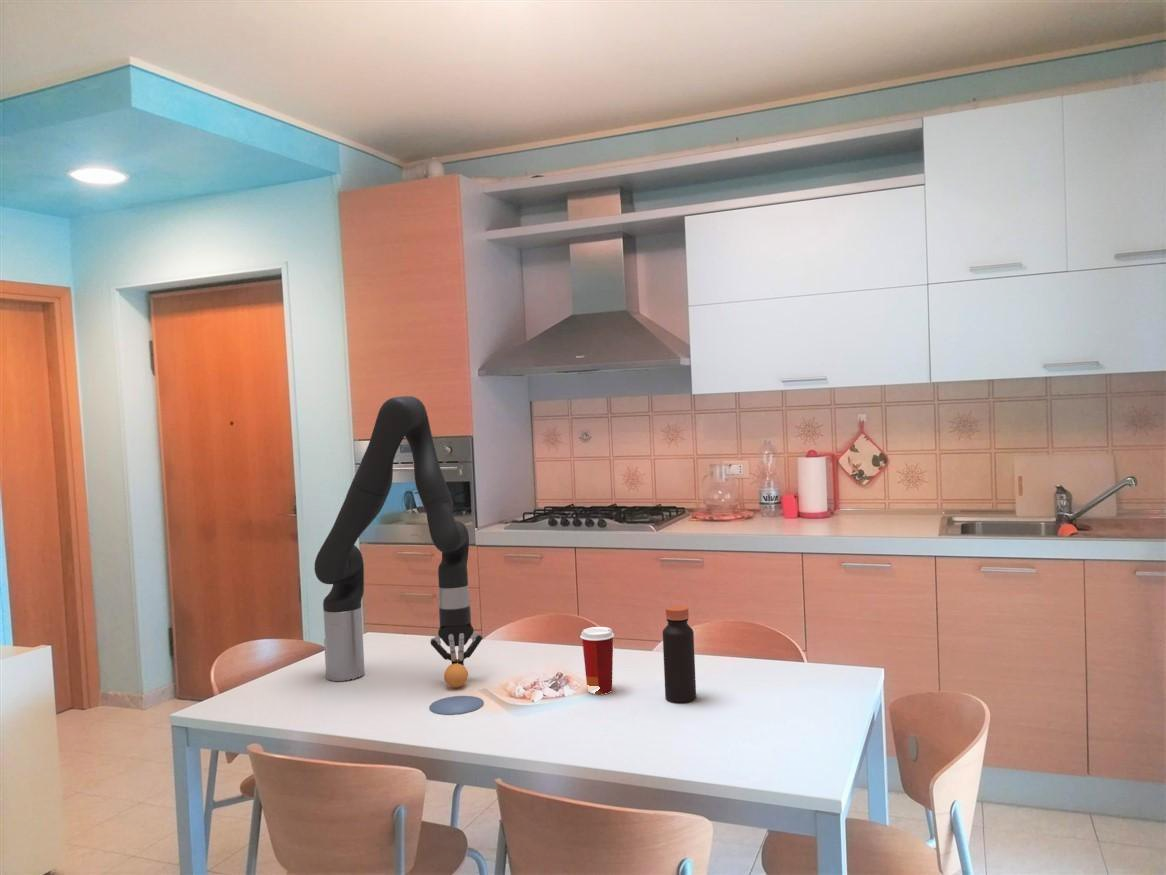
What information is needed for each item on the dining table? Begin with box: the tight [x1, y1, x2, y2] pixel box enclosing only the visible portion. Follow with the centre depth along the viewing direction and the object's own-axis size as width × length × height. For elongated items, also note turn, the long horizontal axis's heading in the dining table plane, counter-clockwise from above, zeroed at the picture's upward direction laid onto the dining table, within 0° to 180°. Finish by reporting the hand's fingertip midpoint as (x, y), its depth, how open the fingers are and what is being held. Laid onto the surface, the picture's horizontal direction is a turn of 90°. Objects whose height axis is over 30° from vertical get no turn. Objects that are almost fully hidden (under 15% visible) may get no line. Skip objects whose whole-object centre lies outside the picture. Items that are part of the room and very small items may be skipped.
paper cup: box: [579, 626, 615, 695], centre depth 197 cm, size 8×8×14 cm
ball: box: [443, 663, 469, 689], centre depth 204 cm, size 6×6×6 cm
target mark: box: [428, 695, 485, 716], centre depth 191 cm, size 12×12×1 cm
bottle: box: [662, 605, 697, 704], centre depth 189 cm, size 7×7×20 cm
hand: (458, 675), depth 208 cm, fingers closed
